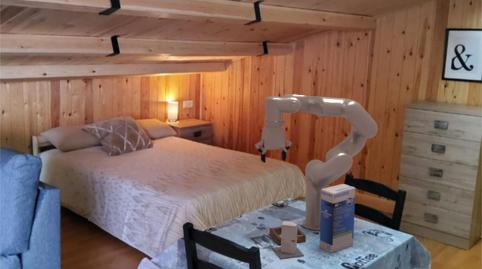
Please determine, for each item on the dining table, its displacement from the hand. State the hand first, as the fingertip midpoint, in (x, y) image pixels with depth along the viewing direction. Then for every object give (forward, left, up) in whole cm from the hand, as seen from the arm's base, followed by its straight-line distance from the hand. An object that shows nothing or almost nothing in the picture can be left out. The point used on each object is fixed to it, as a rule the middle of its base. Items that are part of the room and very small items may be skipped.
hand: (273, 161), depth 220 cm
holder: (-2, +13, -32) cm, 35 cm away
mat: (+3, +27, -32) cm, 42 cm away
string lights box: (-19, +27, -32) cm, 46 cm away
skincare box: (+2, +27, -32) cm, 42 cm away
